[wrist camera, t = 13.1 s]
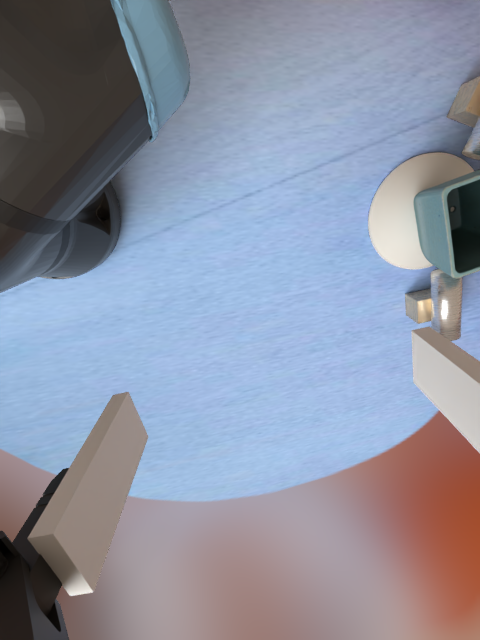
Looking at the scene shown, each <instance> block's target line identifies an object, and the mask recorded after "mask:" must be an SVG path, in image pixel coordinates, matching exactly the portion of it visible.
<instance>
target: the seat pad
mask: <svg viewBox="0 0 480 640" xmlns="http://www.w3.org/2000/svg"><path fill="white" fill-rule="evenodd" d="M471 172H474V170H473V169H472V167H471V166H470V165H469V164H468V163H467V162H466V161H464V160H463V159H461V158H459V157H457V156H455V155H452V154H448V153H441V152H435V153H427V154H422V155H419V156H416V157H413V158H411V159H409V160H407V161H405V162H404V163H402V164H400V165H399V166H398V167H397V168H395V169H394V170H393V171H392V172H391V173H390V174H389V175H388V176H387V177H386V178H385V179H384V181H383V182H382V183H381V185H380V186H379V188H378V189H377V191H376V193H375V195H374V197H373V200H372V203H371V205H370V210H369V215H368V231H369V236H370V240H371V242H372V245H373V247H374V248H375V250H376V251H377V253H378V254H379V255H380V256H381V257H382V258H383V259H384V260H386V261H387V262H389V263H390V264H392V265H394V266H397V267H400V268H404V269H423V268H427V267H431V266H434V265H432V264H431V263H430V262H429V261H428V260H427V259H426V258H425V256H424V255H423V253H422V250H421V247H420V242H419V237H418V230H417V223H416V217H415V211H414V203H413V202H414V197H415V196H416V195H417V194H418V193H419V192H421V191H423V190H426V189H428V188H431V187H434V186H437V185H439V184H442V183H445V182H447V181H450V180H453V179H455V178H458V177H461V176H463V175H466V174H468V173H471ZM450 211H451V212H452V211H454V207H451V210H450Z"/></svg>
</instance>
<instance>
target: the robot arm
mask: <svg viewBox="0 0 480 640" xmlns="http://www.w3.org/2000/svg"><path fill="white" fill-rule="evenodd" d="M189 83H190V65H189V59H188V55H187V51H186V48H185V44H184V41H183V38H182V35H181V32H180V30H179V27H178V24H177V21H176V19H175V16H174V14H173V11H172V9H171V6H170V4H169V1H168V0H0V293H1V292H4V291H6V290H8V289H10V288H13V287H15V286H17V285H19V284H22V283H24V282H26V281H29V280H31V279H33V278H35V277H42V278H49V279H67V278H72V277H76V276H80V275H82V274H84V273H87V272H88V271H90V270H92V269H94V268H96V267H97V266H99V265H100V264H101V263H103V262H104V261H105V260H106V259H107V258H108V256H109V255H110V254H111V252H112V251H113V249H114V247H115V245H116V242H117V240H118V236H119V231H120V209H119V204H118V200H117V197H116V194H115V191H114V189H113V187H112V185H111V183H110V180H111V179H112V178H113V177H114V176H115V175H116V174H117V173H118V172H119V171H120V170H121V169H122V168H123V166H124V165H125V164H126V163H127V162H128V161H129V160H130V159H131V158H132V157H133V156H134V155H135V154H136V153H137V152H138V151H139V150H140V149H141V148H142V147H143V146H144V145H145V144H146V143H147V142H148V141H149V142H153V141H154V140H155V139H156V138H157V136H158V131H159V129H160V128H161V127H162V126H163V125H164V124H165V122H166V121H167V120H168V119H169V118H170V117H171V116H172V114H173V113H174V112H175V111H176V110H177V109H178V108H179V106H180V105H181V104H182V103H183V102H184V100H185V98H186V96H187V94H188V91H189ZM412 354H413V382H414V384H415V385H416V386H417V387H418V388H419V389H420V390H421V391H422V392H423V393H424V394H425V395H426V396H427V397H428V398H429V400H430V401H431V402H432V403H433V404H434V405H435V406H436V407H437V408H438V409H439V410H440V411H441V412H442V413H443V414H444V416H445V417H446V418H447V419H448V420H449V421H450V422H451V423H452V424H453V425H454V426H455V427H456V428H457V429H458V430H459V432H460V433H461V434H462V435H463V436H464V437H465V438H466V439H467V440H468V441H469V442H470V443H471V444H472V445H473V447H475V449H476V450H477V451H478V452H479V453H480V361H478V360H477V359H475V358H474V357H472V356H471V355H470V354H468V353H467V352H465V351H464V350H462V349H461V348H459V347H458V346H457V345H455V344H454V343H452V342H451V341H449V340H448V339H446V338H445V337H444V336H442V335H441V334H439V333H438V332H436V331H435V330H433V329H432V328H431V327H425V328H421V329H416V330H412ZM147 439H148V435H147V433H146V430H145V428H144V426H143V424H142V421H141V419H140V417H139V415H138V412H137V410H136V408H135V406H134V403H133V401H132V399H131V397H130V394H129V392H125V393H121V394H116V395H113V396H112V398H111V399H110V401H109V403H108V404H107V406H106V408H105V409H104V411H103V413H102V414H101V416H100V418H99V419H98V421H97V423H96V424H95V426H94V428H93V429H92V431H91V433H90V434H89V436H88V438H87V439H86V441H85V443H84V444H83V446H82V448H81V449H80V451H79V453H78V454H77V456H76V458H75V459H74V461H73V463H72V464H71V466H70V468H66V469H63V470H62V471H61V472H60V473H59V474H58V475H57V476H56V477H55V478H54V479H53V480H52V481H51V483H50V484H49V486H48V487H47V489H46V490H45V492H44V493H43V497H41V498H40V500H39V501H38V503H37V505H36V508H34V509H33V511H32V512H31V514H30V516H29V517H28V519H27V520H26V522H25V524H24V525H23V527H22V528H21V530H20V531H19V533H18V535H17V536H16V538H15V539H14V541H13V542H11V541H10V540H9V538H8V537H7V536H6V534H5V533H4V532H3V531H0V640H69V637H68V634H67V630H66V626H65V622H64V618H63V614H62V610H61V606H60V604H59V603H58V601H57V600H56V597H57V595H58V593H59V590H60V588H61V586H63V587H64V588H65V590H66V591H67V592H68V594H69V595H70V596H74V595H80V594H86V593H91V592H94V589H95V587H96V584H97V581H98V578H99V575H100V573H101V570H102V567H103V564H104V561H105V558H106V555H107V553H108V550H109V547H110V544H111V541H112V538H113V536H114V533H115V530H116V527H117V524H118V521H119V519H120V516H121V513H122V510H123V507H124V504H125V502H126V499H127V496H128V493H129V490H130V487H131V484H132V482H133V479H134V476H135V473H136V470H137V467H138V465H139V462H140V459H141V456H142V453H143V450H144V448H145V445H146V442H147Z"/></svg>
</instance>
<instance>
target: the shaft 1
mask: <svg viewBox="0 0 480 640" xmlns="http://www.w3.org/2000/svg"><path fill="white" fill-rule="evenodd" d="M462 278H463V277H460V278H453V277H451V276H450V275H448V274H447V273H445V272H443V271H442V270H440V269H437V270H434V271H432V272H431V288H430V289H426V290H421V291H417V292H412V293H408V294H405V303H406V315H407V316H408V317H409V318H411V319H412V320H414V321H415V322H416V323H418V324H419V323H423V322H428V321H431V328H432V329H433V330H435V331H436V332H438V333H439V334H441V335H442V336H444V337H445V338H446V339H448V340H449V341H453V340H457V339H459V338H460V337H461V312H462Z"/></svg>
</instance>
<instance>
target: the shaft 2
mask: <svg viewBox="0 0 480 640" xmlns="http://www.w3.org/2000/svg"><path fill="white" fill-rule="evenodd" d="M447 118H449V119H452V120H454V121H457V122H460V123H462V124H465V125H468V126H470V127H473V128H474V129H473V131H472V133H471V135H470V137H469V139H468V141H467V143H466V145H465V147H464V149H463V151H462V154H463V155H464V156H466V157H469V158H472V159H476V160H480V76H479V77H477V78H475V79H473V80H471V81H469V82H466V83H464V84H462V85H461V87H460V89H459V91H458V93H457V95H456V98H455V100H454V102H453V104H452V106H451V108H450V110H449V113H448V115H447Z"/></svg>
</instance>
